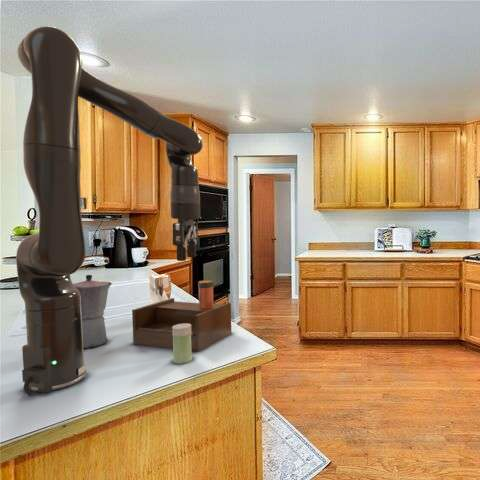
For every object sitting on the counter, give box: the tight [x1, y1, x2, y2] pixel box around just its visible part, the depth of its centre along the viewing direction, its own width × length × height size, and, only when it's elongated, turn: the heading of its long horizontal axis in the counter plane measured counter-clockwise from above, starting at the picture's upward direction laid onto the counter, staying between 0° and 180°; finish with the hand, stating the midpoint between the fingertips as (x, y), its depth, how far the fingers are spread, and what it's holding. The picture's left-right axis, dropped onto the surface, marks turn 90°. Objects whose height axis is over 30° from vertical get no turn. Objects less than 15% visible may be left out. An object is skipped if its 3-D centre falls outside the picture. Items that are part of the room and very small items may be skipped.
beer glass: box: [148, 274, 172, 304], centre depth 129 cm, size 7×7×15 cm
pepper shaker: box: [197, 279, 214, 309], centre depth 108 cm, size 4×4×8 cm
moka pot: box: [73, 274, 113, 349], centre depth 100 cm, size 10×15×20 cm, turn 164°
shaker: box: [172, 323, 193, 365], centre depth 90 cm, size 4×4×9 cm
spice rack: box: [131, 297, 232, 352], centre depth 106 cm, size 15×22×10 cm
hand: (186, 258), depth 101 cm, fingers open, 8 cm apart
